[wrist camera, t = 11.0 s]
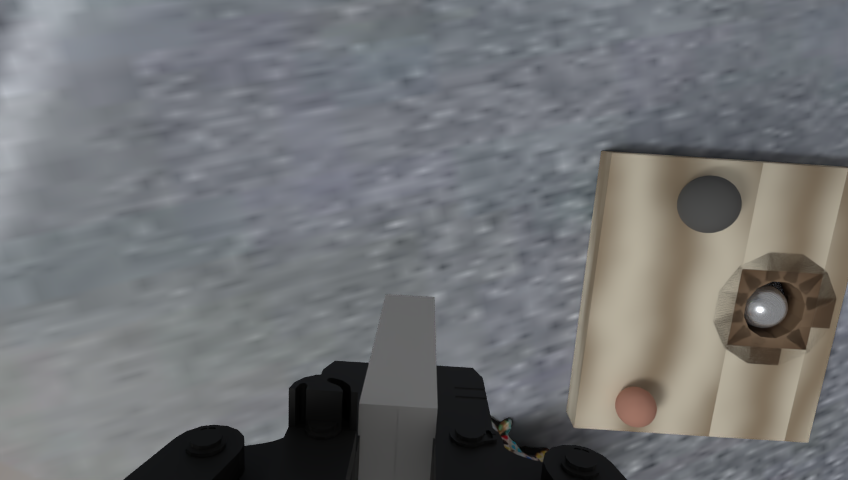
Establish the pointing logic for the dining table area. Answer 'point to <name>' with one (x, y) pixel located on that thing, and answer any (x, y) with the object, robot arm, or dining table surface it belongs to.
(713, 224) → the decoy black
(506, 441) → the figurine
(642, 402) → the pink rubber ball
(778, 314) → the steel ball
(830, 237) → the board
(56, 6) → the dining table surface
